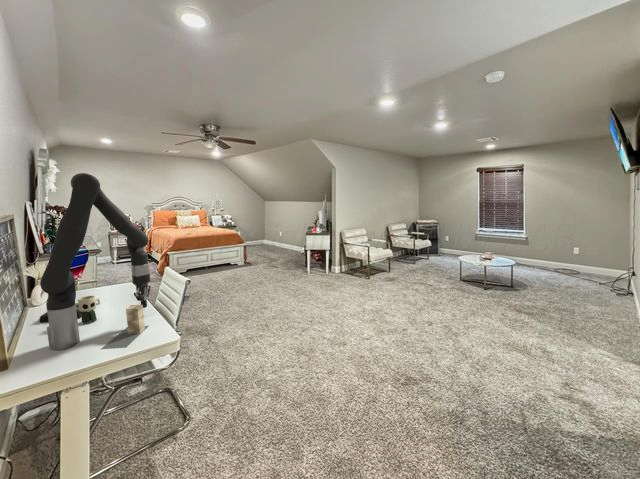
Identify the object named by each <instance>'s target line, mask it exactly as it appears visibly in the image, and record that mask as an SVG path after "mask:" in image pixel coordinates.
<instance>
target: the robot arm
mask: <svg viewBox="0 0 640 479" xmlns="http://www.w3.org/2000/svg"><path fill="white" fill-rule="evenodd" d="M70 186H71V188H72V189H71V195H70V200H69V204H68V206H67V208H66V210H65V211H64V214H63V215H62V217H61V219H60V221H59V223H58V227H57V229H56V233H55V237H54V240H53V244H52V248H51V251H50V252H51V253H50V257H49V260H48V263H47V265H46V267H45V269H44V272H43V273H42V276H41V278H40V281H39V282H40V283H39V285H40V286H39V287H40V288H41V290H42V291H43V292H44V293H46V294H47V295H48V296H47V297H48V298H47V301H46V305H45V306H46V312H47V314H48V321H49V322H48V326H47V327H46V331H47V332H46V334H47V341H48V346H49V349H50V350H53V351H54V350H55V351H61V350H65V349H66V350H67V349H69V348H72V347H75V346H76V345H77V344H79V343H80V342H81V338H80V331H79V330H80V329H79V323H78V321H79V320H78V319H77V313H76V305H75V303H76V298H77V291H76V279H75V276H74V274H73V272H72V271H71V268H72V264H73V261H74V259H75V258H76V256H77V254H78V253H79V251H80V249H81V248H82V246H83V243H84V240H85V238H86V234H87V230H88V225H89V222H90V216H91V211H92V208H93V206H94V207H95V208H96V209H97V211H99V212H100V213H101V215H102V216H103V217H104V218H105V219H106V221H107V222H109V224H110V225H111V226H112V227H113V228H114V229H115V230H116V231H117V232H118V233H119V234H120V235H124V237H126V246H127V249H128V250H127V251H128V253H129V255H130V263H131V268H130V269H131V272H130V273H131V279H132V284H133V285H135V290H136V292H134V293H133V296H134V298H135V299H136V300H137V301H138V302H139V301H140V305H143V309H145V308H146V309H147V307H148V298H149V296H150V291H151V285H149V283H150V282H151V274H150V273H151V272H150V271H151V270H150V266H149V258H148V257H149V256H148V253H147V252H146V251H145V249H144V248H145V247H146V246H147V245H148V244H149V238H148V236H147V234H146V233H145V232H144V231H142V229H141V228H139V227H138V226H136V225H135V224H134V222H132V220H130V218H129V217H128V216H127V215H126V213H124V212H123V211H122V210H121V209H120V208H119V207H118V206H117V205H116V204H115V203H114V202H112V201H111V200H110V198H108V197H107V195H106V194H105V192H104V191H103V190H102V189H101V182H100V180H99V179H98V178H97V177H96V176H94V175H92V174H89V173H85V172H80V173H77V174H74V175H73V176H72V177H71V180H70Z"/></svg>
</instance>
